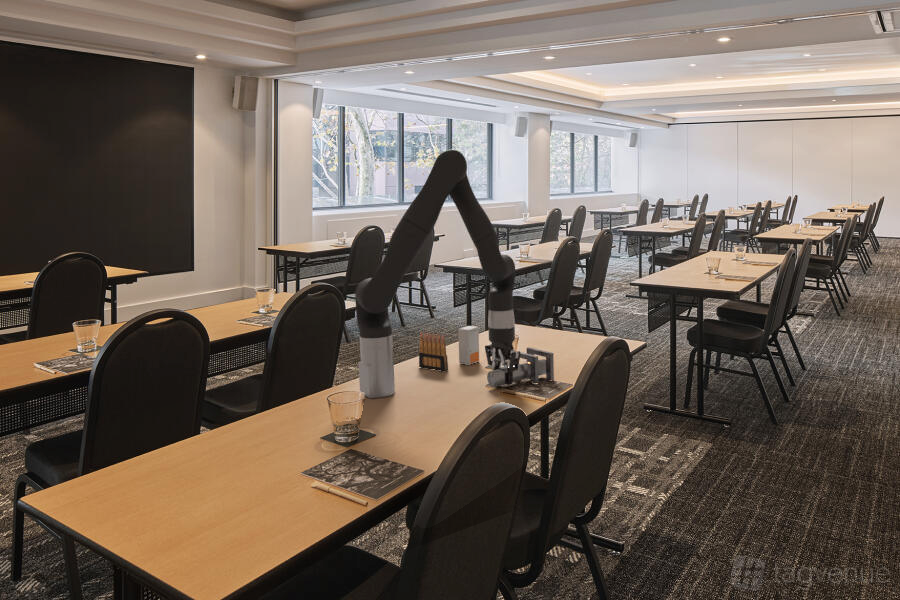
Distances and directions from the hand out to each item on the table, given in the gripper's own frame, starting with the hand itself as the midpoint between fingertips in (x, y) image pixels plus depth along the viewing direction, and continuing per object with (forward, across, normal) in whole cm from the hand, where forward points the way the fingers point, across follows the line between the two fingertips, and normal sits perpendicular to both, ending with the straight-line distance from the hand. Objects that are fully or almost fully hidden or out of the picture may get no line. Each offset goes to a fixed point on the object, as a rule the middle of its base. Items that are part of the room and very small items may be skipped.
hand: (503, 382), depth 214 cm
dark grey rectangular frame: (+1, 0, +14) cm, 15 cm away
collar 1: (+1, 0, +8) cm, 9 cm away
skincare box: (+2, -29, +9) cm, 31 cm away
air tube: (+1, 0, +6) cm, 6 cm away
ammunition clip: (+2, -31, -4) cm, 31 cm away
